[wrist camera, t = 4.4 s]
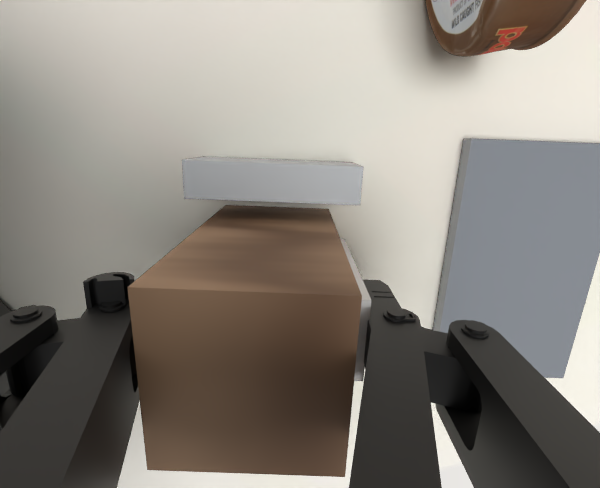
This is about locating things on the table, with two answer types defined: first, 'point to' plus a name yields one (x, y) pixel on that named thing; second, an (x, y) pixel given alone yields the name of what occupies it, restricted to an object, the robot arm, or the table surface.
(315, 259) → the walnut block
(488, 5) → the tin
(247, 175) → the cradle
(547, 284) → the slate plate
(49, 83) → the table surface
